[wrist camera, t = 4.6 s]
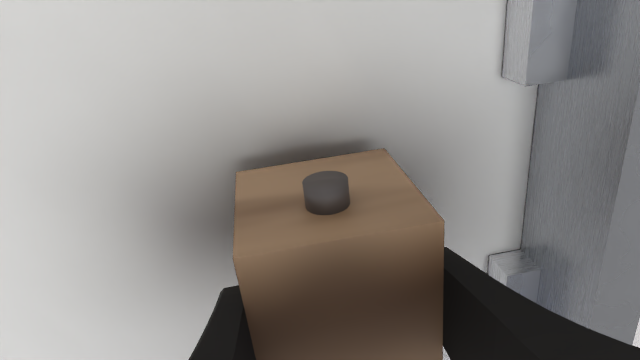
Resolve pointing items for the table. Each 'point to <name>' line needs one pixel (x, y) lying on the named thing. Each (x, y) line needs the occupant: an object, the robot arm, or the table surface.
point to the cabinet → (339, 261)
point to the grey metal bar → (579, 161)
